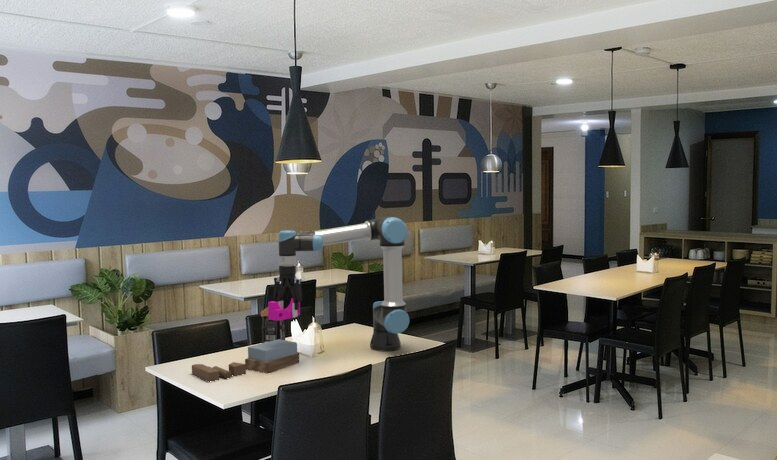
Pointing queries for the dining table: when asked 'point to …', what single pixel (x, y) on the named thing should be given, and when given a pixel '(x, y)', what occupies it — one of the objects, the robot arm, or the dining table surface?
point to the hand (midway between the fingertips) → (287, 316)
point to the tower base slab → (271, 364)
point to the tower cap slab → (272, 350)
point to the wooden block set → (218, 371)
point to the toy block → (280, 311)
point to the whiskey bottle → (271, 323)
